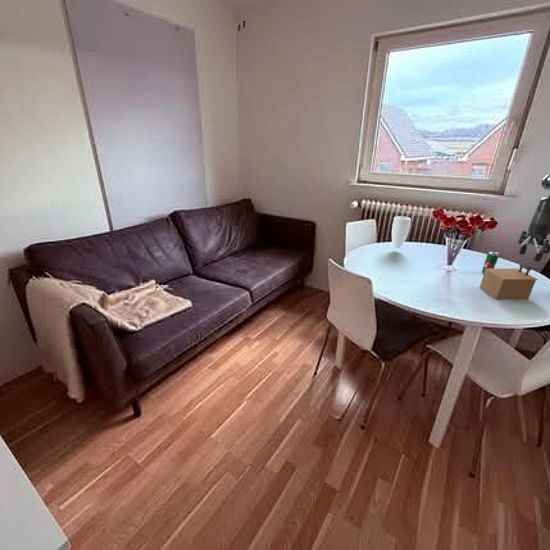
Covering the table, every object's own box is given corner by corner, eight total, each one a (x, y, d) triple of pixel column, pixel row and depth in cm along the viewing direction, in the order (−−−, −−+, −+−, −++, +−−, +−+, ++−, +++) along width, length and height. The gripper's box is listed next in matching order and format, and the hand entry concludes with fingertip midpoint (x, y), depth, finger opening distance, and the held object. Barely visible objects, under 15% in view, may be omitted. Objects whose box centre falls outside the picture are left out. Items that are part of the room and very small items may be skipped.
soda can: (494, 275, 165) (501, 254, 160) (483, 274, 165) (490, 253, 160) (489, 271, 169) (496, 251, 164) (479, 271, 170) (486, 250, 165)
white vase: (385, 248, 202) (391, 215, 193) (402, 249, 201) (408, 216, 192) (389, 253, 193) (396, 219, 184) (407, 254, 192) (414, 220, 183)
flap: (516, 269, 148) (520, 260, 146) (537, 280, 137) (541, 270, 135) (485, 269, 147) (488, 260, 146) (503, 280, 137) (506, 270, 135)
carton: (509, 287, 152) (515, 269, 148) (528, 299, 141) (535, 280, 137) (479, 287, 151) (485, 269, 147) (496, 299, 140) (503, 280, 137)
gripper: (565, 226, 126) (550, 263, 133) (537, 218, 139) (524, 252, 146) (547, 226, 126) (533, 263, 133) (521, 218, 139) (509, 252, 145)
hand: (528, 257), depth 139 cm, fingers open, 8 cm apart
